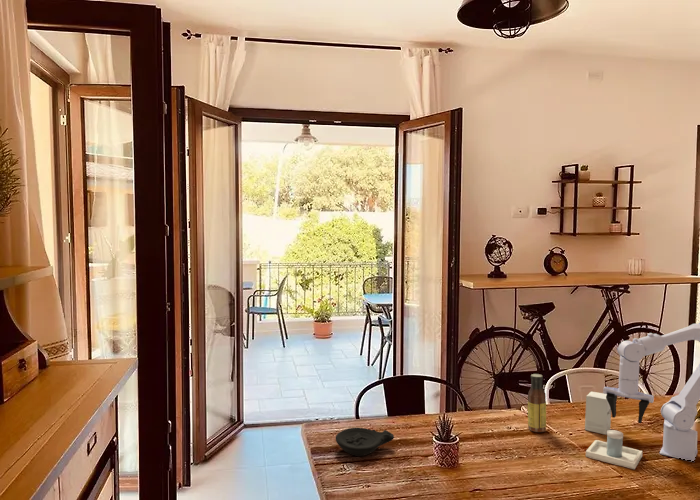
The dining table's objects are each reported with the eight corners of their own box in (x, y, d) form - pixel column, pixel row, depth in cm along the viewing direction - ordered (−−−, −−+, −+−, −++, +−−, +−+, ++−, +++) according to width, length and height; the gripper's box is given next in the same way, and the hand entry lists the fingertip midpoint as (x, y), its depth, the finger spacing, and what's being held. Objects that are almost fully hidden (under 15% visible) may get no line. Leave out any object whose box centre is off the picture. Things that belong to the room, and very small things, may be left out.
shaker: (623, 454, 172) (624, 432, 172) (620, 459, 169) (621, 436, 169) (608, 450, 175) (609, 428, 175) (604, 455, 172) (605, 432, 171)
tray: (642, 456, 172) (642, 451, 172) (634, 469, 163) (634, 463, 163) (595, 444, 181) (595, 439, 181) (585, 456, 172) (585, 451, 171)
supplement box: (606, 435, 190) (607, 399, 189) (584, 430, 194) (585, 395, 194) (611, 429, 196) (612, 394, 195) (589, 424, 200) (590, 390, 200)
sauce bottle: (543, 427, 196) (545, 373, 196) (548, 433, 190) (549, 378, 189) (525, 426, 197) (526, 372, 196) (528, 432, 191) (530, 377, 190)
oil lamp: (402, 456, 170) (402, 440, 170) (343, 463, 164) (343, 447, 164) (385, 438, 184) (385, 423, 184) (330, 444, 178) (330, 429, 178)
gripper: (601, 376, 177) (599, 417, 177) (651, 385, 168) (649, 428, 169) (606, 372, 182) (605, 411, 183) (655, 380, 173) (653, 422, 174)
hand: (626, 419), depth 176 cm, fingers open, 7 cm apart
